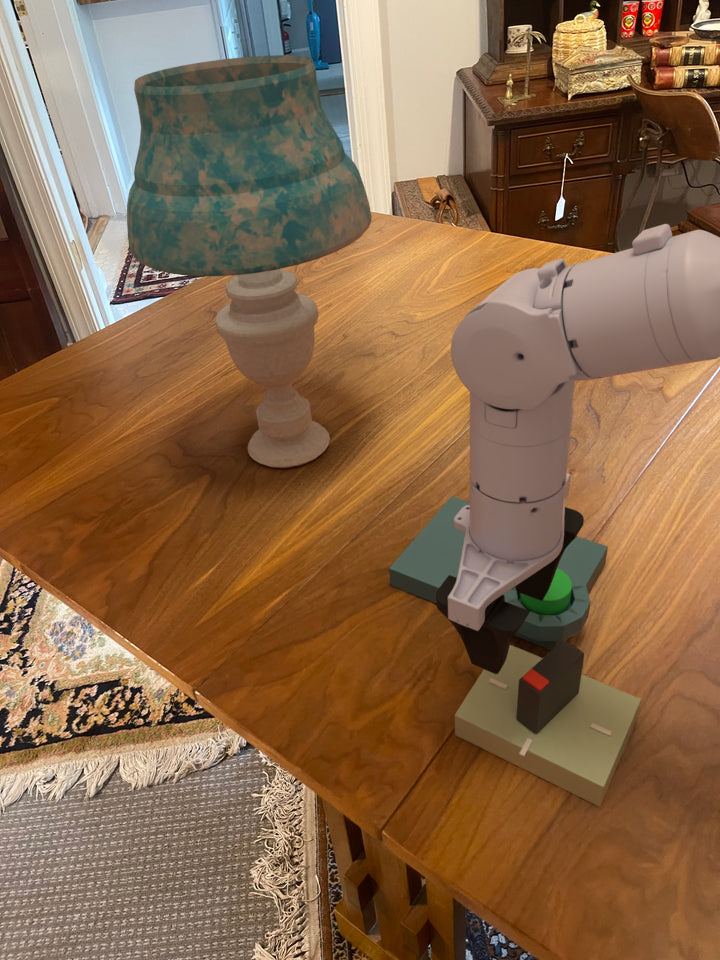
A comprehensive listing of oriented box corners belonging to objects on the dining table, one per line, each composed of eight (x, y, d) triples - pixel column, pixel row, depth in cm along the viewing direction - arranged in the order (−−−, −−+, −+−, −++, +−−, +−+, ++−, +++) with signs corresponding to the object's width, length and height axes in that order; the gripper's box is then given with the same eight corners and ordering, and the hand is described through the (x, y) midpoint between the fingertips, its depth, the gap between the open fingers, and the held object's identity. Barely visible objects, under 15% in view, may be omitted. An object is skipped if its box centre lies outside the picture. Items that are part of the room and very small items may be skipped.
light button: (577, 590, 61) (579, 575, 59) (559, 622, 58) (560, 607, 57) (531, 574, 62) (533, 559, 61) (512, 604, 60) (512, 589, 59)
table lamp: (227, 537, 76) (117, 110, 52) (167, 432, 93) (65, 78, 69) (425, 462, 83) (410, 60, 59) (336, 378, 101) (296, 42, 77)
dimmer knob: (558, 679, 55) (563, 636, 52) (579, 693, 54) (585, 650, 51) (515, 719, 52) (518, 677, 50) (536, 735, 51) (540, 692, 49)
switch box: (621, 569, 67) (627, 536, 65) (566, 672, 58) (570, 638, 56) (451, 512, 76) (451, 481, 73) (381, 595, 67) (378, 563, 65)
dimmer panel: (639, 713, 55) (644, 691, 53) (596, 815, 49) (601, 793, 47) (503, 656, 60) (504, 634, 59) (450, 741, 54) (450, 719, 53)
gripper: (506, 403, 51) (500, 549, 59) (398, 523, 41) (409, 677, 49) (607, 427, 47) (587, 578, 55) (515, 564, 38) (506, 722, 46)
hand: (509, 627), depth 52 cm, fingers open, 7 cm apart
